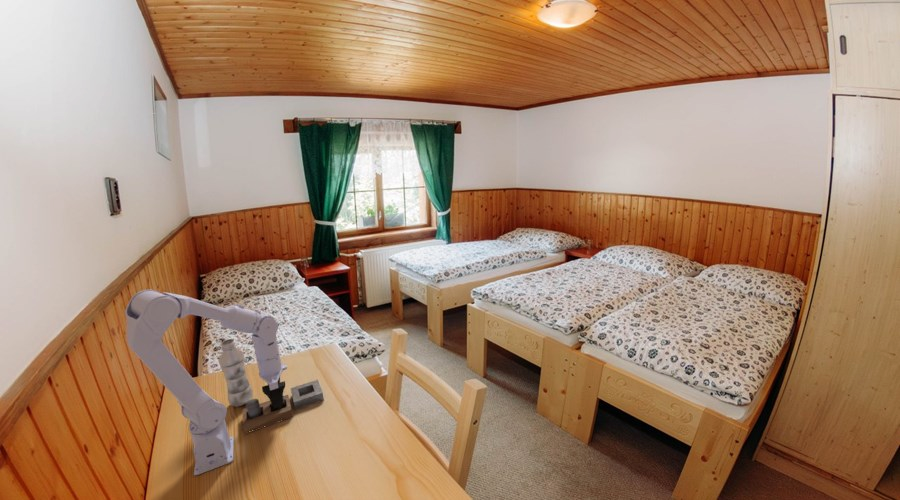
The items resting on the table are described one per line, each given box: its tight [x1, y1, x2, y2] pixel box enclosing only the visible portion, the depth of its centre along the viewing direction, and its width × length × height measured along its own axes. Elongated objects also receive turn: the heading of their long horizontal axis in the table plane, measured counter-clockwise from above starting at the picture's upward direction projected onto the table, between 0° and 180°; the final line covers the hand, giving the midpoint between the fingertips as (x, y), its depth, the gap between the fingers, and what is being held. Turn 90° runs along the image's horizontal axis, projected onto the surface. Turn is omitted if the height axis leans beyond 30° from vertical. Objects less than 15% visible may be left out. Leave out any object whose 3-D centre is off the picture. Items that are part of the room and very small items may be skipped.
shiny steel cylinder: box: [273, 381, 285, 411], centre depth 106 cm, size 3×3×9 cm
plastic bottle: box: [218, 338, 253, 407], centre depth 111 cm, size 6×7×20 cm
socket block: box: [290, 379, 324, 411], centre depth 113 cm, size 8×8×2 cm
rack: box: [242, 394, 294, 434], centre depth 105 cm, size 8×12×6 cm, turn 119°
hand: (277, 399), depth 106 cm, fingers open, 7 cm apart
